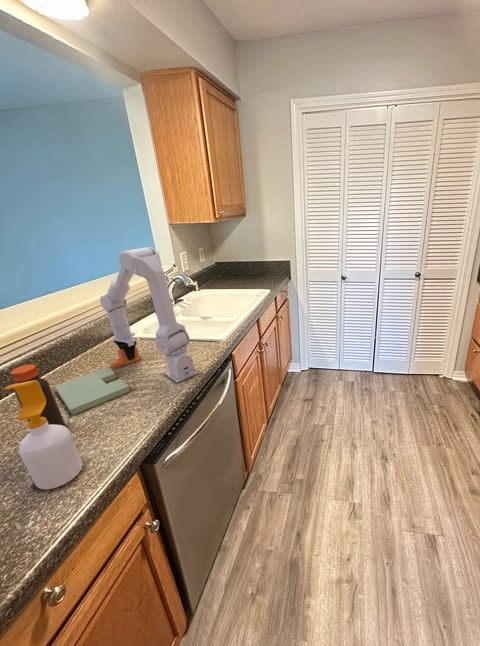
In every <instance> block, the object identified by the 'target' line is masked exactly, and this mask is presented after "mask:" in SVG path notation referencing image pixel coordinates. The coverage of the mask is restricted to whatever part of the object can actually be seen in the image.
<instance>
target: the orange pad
mask: <svg viewBox="0 0 480 646" xmlns="http://www.w3.org/2000/svg"><path fill="white" fill-rule="evenodd" d="M116 352H117V356H118V359H117V360H114V361H110V366H111V367H112V368H113V369H116V368H120V367H122V366H126V365H130V364H131V363H134V362H137V361H140V360H141V358H140V353H139V350H138V348H137V347H135V359H133V360H130V361H129V360H128V358H127V356H126V354H125V352H124V351H123V349H121V350H120V349H118V350H117V351H116Z"/></svg>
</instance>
